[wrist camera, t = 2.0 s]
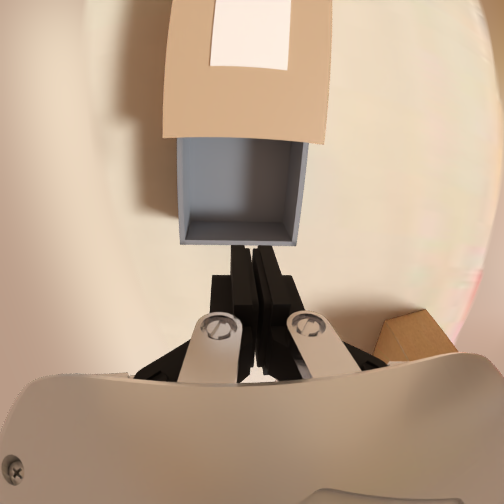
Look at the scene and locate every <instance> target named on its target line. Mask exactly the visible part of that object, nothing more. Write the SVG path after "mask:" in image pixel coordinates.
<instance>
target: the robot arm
mask: <svg viewBox="0 0 504 504" xmlns="http://www.w3.org/2000/svg"><path fill="white" fill-rule="evenodd" d="M255 354H256V361H257V367H262V368H263V375H270V376H272V377H274V378H275V379H276V380H275V382H260V383H240V382H242V381H243V380H244V379H245V378H246V377H247V376H249V375H250V367H253V366H254V356H255ZM0 504H504V377H503V376H502V374H501V373H500V372H499V371H498V369H497V368H496V367H495V366H494V365H493V364H492V363H491V361H490V360H488V359H487V358H486V357H484V356H482V355H479V354H475V353H466V352H454V353H447V354H440V355H436V356H432V357H427V358H422V359H418V360H414V361H389V362H388V364H386V363H385V362H384V361H382V360H381V359H379V358H377V357H375V356H372V355H370V354H368V353H366V352H364V351H362V350H360V349H358V348H356V347H354V346H351V345H349V344H347V343H345V342H343V341H342V340H341V339H340V337H339V336H338V334H337V333H336V331H335V330H334V329H333V327H332V326H331V324H330V323H329V321H328V320H327V319H326V318H325V317H324V316H322V315H321V314H319V313H316V312H313V311H305V309H304V306H303V304H302V301H301V298H300V296H299V293H298V291H297V288H296V285H295V283H294V280H293V278H292V276H291V275H282V274H281V271H280V268H279V265H278V262H277V260H276V257H275V254H274V251H273V248H272V245H258V249H253V256H252V261H251V255H250V249H249V248H245V246H244V245H231V271H230V275H212V286H211V300H210V313H209V314H206V315H204V316H202V317H201V318H200V319H199V320H198V321H197V323H196V325H195V328H194V331H193V334H192V337H191V339H190V340H188V341H187V342H185V343H184V344H182V345H180V346H179V347H177V348H176V349H174V350H172V351H171V352H169V353H167V354H166V355H164V356H162V357H161V358H159V359H157V360H156V361H154V362H152V363H151V364H149V365H147V366H146V367H144V368H142V369H141V370H140V371H138V372H137V373H136V375H131V376H129V375H128V373H127V372H126V373H111V374H77V373H76V374H58V375H51V376H45V377H41V378H38V379H35V380H33V381H31V382H30V383H28V384H27V385H26V386H25V387H24V388H23V389H22V390H21V392H20V393H19V394H18V396H17V398H16V399H15V401H14V403H13V405H12V406H11V408H10V410H9V412H8V415H7V417H6V419H5V421H4V424H3V426H2V429H1V432H0Z"/></svg>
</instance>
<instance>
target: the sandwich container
mask: <svg viewBox="0 0 504 504" xmlns="http://www.w3.org/2000/svg"><path fill="white" fill-rule="evenodd" d="M454 352H458V351H457V349H456V348H455V346H454V345H453V344H452V342H451V341H450V340H449V338H448V337H447V335H446V334H445V333H444V332H443V330H442V329H441V328H440V326H439V325H438V324H437V323H436V321H435V320H434V319H433V318H432V316H431V315H430V314H429V313H428V311H427V310H426V309H425V310H422V311H418V312H415V313H411V314H407V315H404V316H400V317H396V318H392V319H388V320H385V322H384V324H383V327H382V330H381V333H380V336H379V339H378V341H377V344H376V347H375V350H374V353H373V356H375V357H377V358H379V359H381V360H382V361H384V362H385V363H386V364H388V362H389V361H414V360H418V359H422V358H427V357H432V356H436V355H440V354H447V353H454Z"/></svg>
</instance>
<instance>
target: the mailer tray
mask: <svg viewBox="0 0 504 504" xmlns="http://www.w3.org/2000/svg"><path fill="white" fill-rule="evenodd" d="M308 145H309V143H306V142H297V141H286V140H273V139H258V138H234V137H182V138H177V189H178V215H179V233H180V245H272V246H296V243H297V236H298V229H299V222H300V214H301V206H302V199H303V190H304V182H305V173H306V164H307V155H308Z"/></svg>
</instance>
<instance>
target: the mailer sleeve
mask: <svg viewBox="0 0 504 504" xmlns="http://www.w3.org/2000/svg"><path fill="white" fill-rule="evenodd" d="M331 42H332V0H173V1H172V7H171V14H170V22H169V30H168V39H167V49H166V61H165V75H164V93H163V137H162V138H182V137H234V138H258V139H273V140H286V141H297V142H306V143H315V144H323V145H324V140H325V131H326V120H327V109H328V96H329V82H330V65H331Z"/></svg>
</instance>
